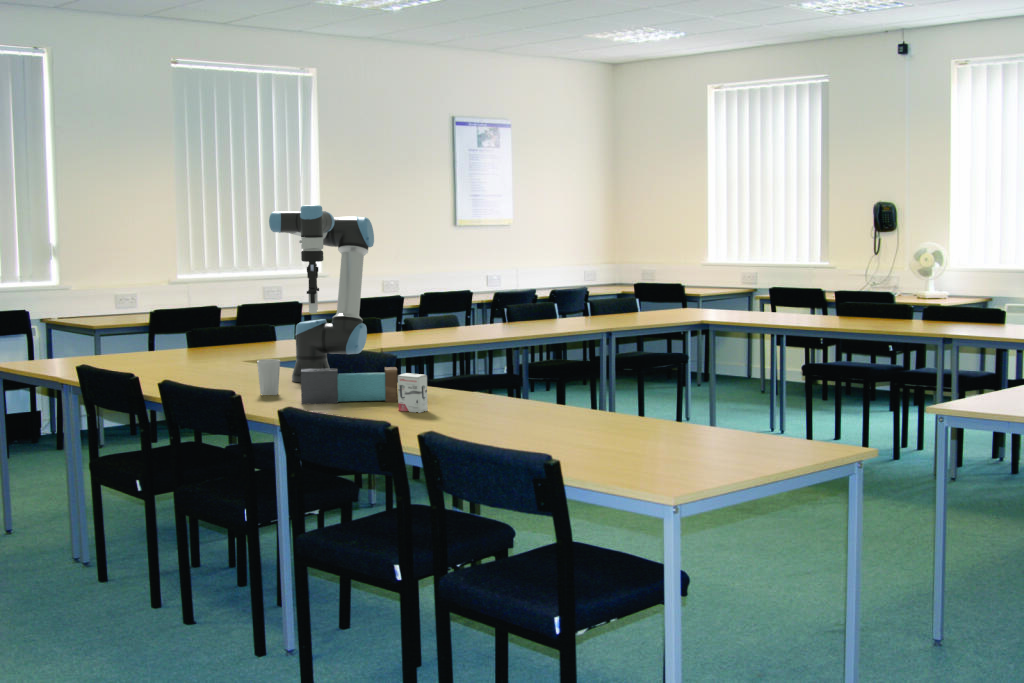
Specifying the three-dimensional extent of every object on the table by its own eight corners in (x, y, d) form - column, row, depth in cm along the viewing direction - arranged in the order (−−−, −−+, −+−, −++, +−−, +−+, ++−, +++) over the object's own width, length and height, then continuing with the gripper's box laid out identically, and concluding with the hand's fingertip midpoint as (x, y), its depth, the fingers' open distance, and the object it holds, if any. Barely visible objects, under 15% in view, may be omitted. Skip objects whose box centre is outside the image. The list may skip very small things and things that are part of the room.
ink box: (397, 411, 351) (396, 374, 349) (405, 408, 355) (405, 372, 354) (420, 413, 347) (419, 376, 345) (428, 410, 351) (428, 374, 350)
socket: (384, 398, 375) (384, 367, 373) (396, 398, 375) (396, 367, 374) (385, 402, 368) (385, 369, 367) (397, 401, 369) (397, 369, 367)
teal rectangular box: (328, 399, 370) (328, 373, 369) (393, 398, 374) (393, 372, 373) (328, 401, 366) (328, 375, 365) (394, 400, 370) (394, 373, 369)
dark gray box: (302, 400, 370) (301, 368, 369) (337, 400, 372) (337, 368, 371) (301, 404, 364) (300, 371, 362) (337, 403, 365) (337, 370, 364)
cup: (278, 396, 381) (277, 362, 379) (255, 396, 381) (254, 362, 380) (283, 392, 389) (282, 359, 387) (261, 392, 389) (260, 359, 388)
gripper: (302, 249, 387) (303, 308, 390) (299, 251, 363) (301, 314, 365) (323, 249, 389) (324, 308, 391) (322, 251, 364) (323, 314, 366)
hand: (313, 311), depth 378 cm, fingers open, 13 cm apart
